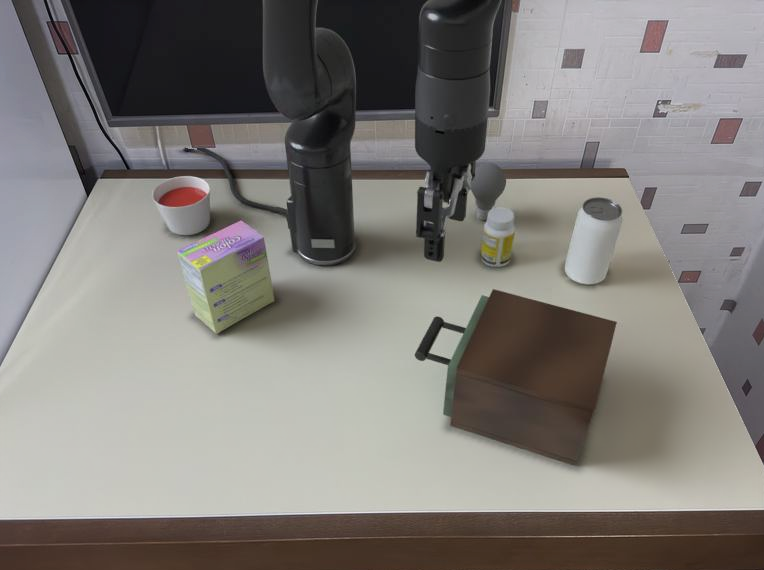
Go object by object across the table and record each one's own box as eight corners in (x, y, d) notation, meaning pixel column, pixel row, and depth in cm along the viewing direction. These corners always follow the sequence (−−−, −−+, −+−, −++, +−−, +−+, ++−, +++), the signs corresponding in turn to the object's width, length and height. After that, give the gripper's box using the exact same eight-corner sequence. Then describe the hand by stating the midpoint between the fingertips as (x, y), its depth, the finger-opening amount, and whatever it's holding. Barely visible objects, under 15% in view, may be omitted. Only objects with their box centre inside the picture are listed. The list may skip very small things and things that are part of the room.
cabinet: (449, 425, 84) (456, 367, 77) (484, 347, 94) (492, 288, 86) (574, 465, 81) (594, 409, 73) (597, 379, 90) (617, 321, 82)
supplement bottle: (508, 249, 109) (515, 205, 103) (512, 267, 106) (519, 223, 100) (478, 249, 109) (483, 205, 103) (481, 267, 106) (487, 223, 100)
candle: (200, 244, 109) (192, 211, 104) (151, 234, 111) (140, 201, 106) (226, 213, 115) (219, 181, 110) (178, 204, 117) (170, 172, 112)
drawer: (403, 402, 86) (405, 354, 79) (439, 332, 94) (443, 284, 88) (557, 451, 81) (572, 404, 74) (580, 372, 90) (594, 325, 83)
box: (252, 283, 103) (240, 218, 94) (275, 301, 100) (265, 236, 91) (193, 315, 97) (175, 250, 89) (216, 335, 95) (199, 270, 86)
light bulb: (463, 208, 117) (468, 156, 110) (496, 206, 118) (504, 155, 110) (469, 228, 113) (474, 176, 106) (504, 227, 114) (512, 174, 106)
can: (605, 289, 103) (625, 224, 94) (563, 283, 104) (579, 218, 95) (605, 262, 107) (624, 198, 99) (564, 257, 108) (580, 193, 99)
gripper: (439, 75, 75) (434, 201, 86) (392, 134, 65) (394, 266, 77) (504, 85, 73) (491, 212, 84) (466, 148, 63) (457, 281, 75)
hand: (445, 238), depth 81 cm, fingers open, 8 cm apart
